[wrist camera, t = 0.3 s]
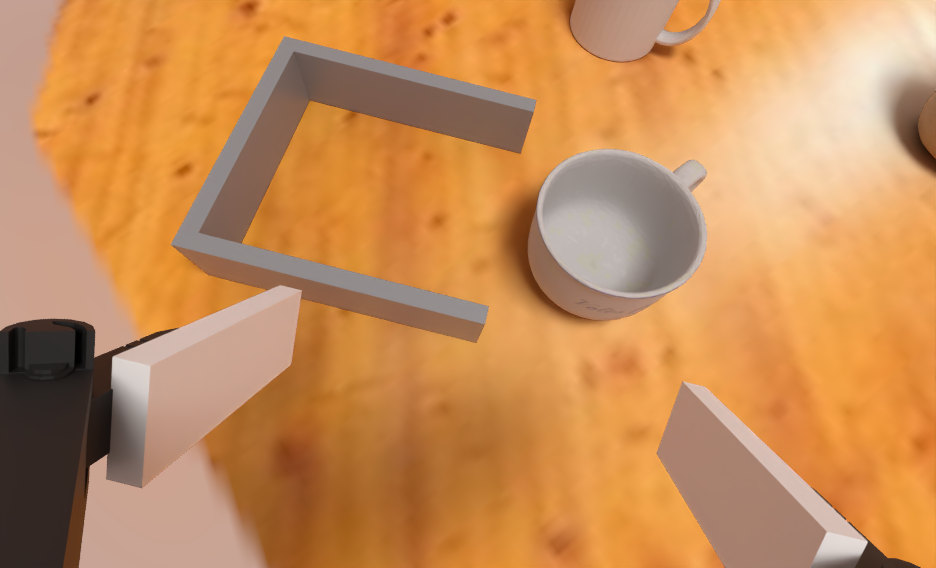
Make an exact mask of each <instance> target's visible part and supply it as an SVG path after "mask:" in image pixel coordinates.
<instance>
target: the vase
mask: <svg viewBox="0 0 936 568" xmlns="http://www.w3.org/2000/svg"><path fill="white" fill-rule="evenodd" d="M918 130H919V136H920V139H921V141H922V143H923V145H924V146H925V148H926V149H927V150H928V151H929V153H930V154H931V155H932V156H933V157H934V158H935V159H936V91H935V92H934V93H933V94H932V95H931V96H930V98H929V99H928V100H927V102H926V103H925V105H924V107H923V109H922V111H921V113H920V116H919V120H918Z"/></svg>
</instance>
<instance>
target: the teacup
mask: <svg viewBox="0 0 936 568" xmlns="http://www.w3.org/2000/svg"><path fill="white" fill-rule="evenodd" d="M706 174H707V172H706V169H705V168H704V166H703V165H701V164H700V163H699V162H697V161H695V160H689V161H687V162H686V163H684V164H683V165H681V166H680V167H679V168H677V169H676V170H675V171H674V172H673V173H672V172H671V171H670V170H669V169H667V168H665V167H664V166H662V165H661V164H659V163H657V162H655V161H653V160H652V159H649V158H647V157H645V156H643V155H640V154H637V153H634V152H629V151H624V150H617V149H599V150H591V151H587V152H583V153H579V154H577V155H574V156H572V157H570V158H568V159H566V160H564V161H563V162H562V163H560V164H559V165H558V166H557V167H556V168H554V170H553V171H552V172H551V173H550V174H549V175H548V176H547V178H546V179H545V181H544V183H543V185H542V187H541V189H540V192H539V195H538V200H537V206H536V211H535V214H534V217H533V221H532V224H531V228H530V232H529V238H528V259H529V264H530V268H531V271H532V273H533V276H534V278H535V280H536V282H537V283H538V285H539V287H540V288H541V289H542V291H543V292H544V293H545V294H546V295H547V297H548V298H549V299H551V300H552V301H553V302H554V303H555V304H557V305H558V306H559V307H561V308H562V309H564V310H566V311H567V312H569V313H572V314H574V315H577V316H579V317H583V318H587V319H592V320H615V319H621V318H625V317H628V316H631V315H633V314H636V313H638V312H640V311H642V310H644V309H645V308H647V307H649V306H650V305H652V304H653V303H655V302H656V301H658V300H659V299H661V298H662V297H663V296H665V295H666V294H667V293H669V292H671V291H673V290H675V289H676V288H678V287H680V286H681V285H682V284H684V283H685V282H686V281H687V280H688V279H689V278H690V277H691V276H692V274H693V273H694V272H695V271H696V270H697V268H698V267H699V265H700V263H701V261H702V259H703V256H704V253H705V250H706V242H707V229H706V223H705V220H704V216H703V213H702V211H701V208H700V206H699V204H698V202H697V201H696V199H695V198H694V196H693V195H692V193H691V192H692V191H693V190H694V189H695V188H696V187H697V186H698V185H699V184H700V183H701V182H702V181H703V180H704V178H705V177H706Z"/></svg>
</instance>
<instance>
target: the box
mask: <svg viewBox="0 0 936 568" xmlns="http://www.w3.org/2000/svg"><path fill="white" fill-rule="evenodd" d="M310 100H311V101H315V102H319V103H323V104H327V105H331V106H335V107H339V108H343V109H347V110H351V111H355V112H359V113H363V114H367V115H371V116H375V117H379V118H383V119H387V120H390V121H394V122H398V123H402V124H406V125H410V126H414V127H418V128H422V129H426V130H430V131H434V132H438V133H442V134H446V135H450V136H454V137H458V138H462V139H466V140H469V141H473V142H477V143H481V144H485V145H489V146H493V147H497V148H501V149H505V150H509V151H513V152H517V153H521V150H522V147H523V144H524V141H525V138H526V135H527V132H528V128H529V125H530V122H531V119H532V116H533V113H534V108H535V104H536V100H534V99H530V98H526V97H522V96H518V95H514V94H510V93H506V92H502V91H498V90H494V89H490V88H487V87H483V86H479V85H475V84H471V83H467V82H463V81H459V80H455V79H451V78H447V77H443V76H439V75H435V74H431V73H427V72H423V71H419V70H415V69H411V68H407V67H404V66H400V65H396V64H392V63H388V62H384V61H380V60H376V59H372V58H368V57H364V56H360V55H356V54H352V53H348V52H344V51H340V50H336V49H332V48H328V47H324V46H320V45H317V44H313V43H309V42H305V41H301V40H297V39H293V38H289V37H285V36H284V38H283V40H282V41H281V43H280V45H279V47H278V49H277V51H276V52H275V54H274V56H273V58H272V60H271V62H270V63H269V65H268V67H267V69H266V71H265V73H264V74H263V76H262V78H261V80H260V82H259V84H258V85H257V87H256V89H255V91H254V93H253V95H252V96H251V98H250V100H249V102H248V104H247V106H246V107H245V109H244V111H243V113H242V115H241V117H240V118H239V120H238V122H237V124H236V126H235V128H234V129H233V131H232V133H231V135H230V137H229V139H228V140H227V142H226V144H225V146H224V148H223V150H222V152H221V153H220V155H219V157H218V159H217V161H216V163H215V164H214V166H213V168H212V170H211V172H210V174H209V175H208V177H207V179H206V181H205V183H204V185H203V186H202V188H201V190H200V192H199V194H198V196H197V197H196V199H195V201H194V203H193V205H192V207H191V208H190V210H189V212H188V214H187V216H186V218H185V219H184V221H183V223H182V225H181V227H180V229H179V230H178V232H177V234H176V236H175V238H174V240H173V241H172V243H171V245H172V246H173V247H174V248H175V249H177V250H178V251H179V252H180V253H182V254H183V255H184V256H185V257H187V258H188V259H189V260H190V261H192V262H193V263H194V264H195V265H197V266H198V267H199V268H200V269H202V270H203V271H204V272H205V273H207V274H208V275H211V276H215V277H219V278H223V279H227V280H231V281H235V282H239V283H242V284H246V285H250V286H254V287H258V288H262V289H266V290H270V289H272V288H275V287H277V286H279V285H281V286H286V287H290V288H294V289H298V290H302V293H301V298H302V299H305V300H309V301H313V302H317V303H321V304H325V305H329V306H333V307H337V308H341V309H345V310H349V311H353V312H357V313H361V314H365V315H369V316H372V317H376V318H380V319H384V320H388V321H392V322H396V323H400V324H404V325H408V326H412V327H416V328H420V329H424V330H428V331H432V332H436V333H439V334H443V335H447V336H451V337H455V338H459V339H463V340H467V341H471V342H475V343H476V342H477V340H478V338H479V336H480V334H481V331H482V329H483V327H484V325H485V321H486V317H487V312H488V308H489V306H485V305H481V304H477V303H473V302H469V301H466V300H462V299H458V298H454V297H450V296H446V295H442V294H438V293H434V292H430V291H426V290H422V289H418V288H414V287H410V286H406V285H402V284H398V283H395V282H391V281H387V280H383V279H379V278H375V277H371V276H367V275H363V274H359V273H355V272H351V271H347V270H343V269H339V268H335V267H331V266H328V265H324V264H320V263H316V262H312V261H308V260H304V259H300V258H296V257H292V256H288V255H284V254H280V253H276V252H272V251H268V250H264V249H261V248H257V247H253V246H249V245H245V244H241V243H242V241H243V238H244V236H245V234H246V232H247V230H248V228H249V226H250V224H251V222H252V220H253V218H254V216H255V213H256V211H257V209H258V207H259V205H260V203H261V201H262V199H263V197H264V195H265V193H266V190H267V188H268V186H269V184H270V182H271V180H272V178H273V176H274V174H275V172H276V170H277V167H278V165H279V163H280V161H281V159H282V157H283V155H284V153H285V151H286V149H287V147H288V145H289V142H290V140H291V138H292V136H293V134H294V132H295V130H296V128H297V126H298V124H299V122H300V119H301V117H302V115H303V113H304V111H305V109H306V107H307V105H308V103H309V101H310Z"/></svg>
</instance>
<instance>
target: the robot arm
mask: <svg viewBox="0 0 936 568" xmlns="http://www.w3.org/2000/svg"><path fill="white" fill-rule="evenodd" d="M301 293H302V290H298V289H294V288H290V287H286V286H281V285H279V286H277V287H275V288H272V289H270V290H268V291H265V292H263V293H261V294H258V295H256V296H254V297H251V298H249V299H247V300H244V301H242V302H240V303H237V304H235V305H233V306H230V307H228V308H225V309H223V310H221V311H218V312H216V313H214V314H211V315H209V316H207V317H204V318H202V319H200V320H197V321H195V322H193V323H190V324H188V325H186V326H183V327H181V328H175V329H170V330H165V331H160V332H156V333H153V334H151V335H149V336H146V337H144V338H141V339H140V341H138V340H136V341H134V342H131V343H129V344H127V345H126V346H125V347H123V346H122V347H119V348H117V349H115V350H112V351H109V352H107V353H105V354H102V355H100V356H97V357H95V358H94V346H95V330H94V327H93V326H92V325H90V324H87V323H85V322H81V321H75V320H69V319H40V320H32V321H26V322H20V323H16V324H13V325H10V326H7V327H5V328H4V329H3V330H1V331H0V568H79V560H80V551H81V543H82V535H83V526H84V517H85V510H86V501H87V493H88V484H89V468H90V465H92V464H93V463H95V462H96V461H98V460H99V459H101V458H102V457H104V456H105V455H107V454H108V456H107V475H106V476H107V477H106V479H108V480H112V481H116V482H120V483H124V484H128V485H131V486H135V487H139V488H143V487H144V486H145V485H146V484H147V483H149V482H150V481H151V480H152V479H153V478H155V477H156V476H157V475H158V474H159V473H161V472H162V471H163V470H164V469H165V468H167V467H168V466H169V465H170V464H171V463H173V462H174V461H175V460H176V459H178V458H179V457H180V456H181V455H182V454H184V453H185V452H186V451H187V450H188V449H190V448H191V447H192V446H193V445H195V444H196V443H197V442H198V441H199V440H201V439H202V438H203V437H204V436H205V435H207V434H208V433H209V432H210V431H211V430H213V429H214V428H215V427H216V426H217V425H219V424H220V423H221V422H222V421H223V420H225V419H226V418H227V417H228V416H230V415H231V414H232V413H233V412H234V411H236V410H237V409H238V408H239V407H240V406H242V405H243V404H244V403H245V402H246V401H248V400H249V399H250V398H251V397H252V396H254V395H255V394H256V393H257V392H258V391H260V390H261V389H262V388H263V387H265V386H266V385H267V384H268V383H269V382H271V381H272V380H273V379H274V378H275V377H277V376H278V375H279V374H280V373H281V372H283V371H284V370H285V369H286V368H287V367H289V366H290V365H291V361H292V355H293V348H294V341H295V334H296V327H297V321H298V314H299V307H300V300H301ZM657 455H658V457H659V458H660V460H661V462H662V463H663V465H664V467H665V468H666V470H667V472H668V473H669V475H670V477H671V478H672V480H673V482H674V483H675V485H676V487H677V488H678V490H679V492H680V493H681V495H682V497H683V498H684V500H685V502H686V503H687V505H688V507H689V508H690V510H691V512H692V513H693V515H694V517H695V518H696V520H697V522H698V523H699V525H700V527H701V528H702V530H703V532H704V533H705V535H706V537H707V538H708V540H709V542H710V543H711V545H712V547H713V548H714V550H715V552H716V553H717V555H718V557H719V558H720V560H721V562H722V563H723V565H724V567H725V568H920V567H918V566H916V565H914V564H912V563H909V562H906V561H903V560H900V559H896V558H887V557H886V556H885V555H884V554H883V553H882V552H881V551H879V550H878V549H877V548H876V547H875V546H874V545H873V544H872V543H871V542H870V541H869V540H868V539H867V538H866V537H865V536H864V535H863V534H861V533H860V532H859V531H858V530H857V529H856V528H855V527H854V526H853V525H852V524H851V523H850V522H847V521H846V518H845V517H843V516H842V515H841V514H840V513H839V512H838V511H837V510H836V509H833V508H832V505H831V504H830V503H829V502H828V501H827V500H826V499H824V498H823V497H822V496H821V495H820V494H819V493H818V492H817V491H816V490H814V489H813V488H812V487H810V486H809V485H808V484H807V483H806V482H805V481H804V480H803V479H802V478H801V477H799V476H798V475H797V474H796V473H795V472H794V471H793V470H792V469H791V468H790V467H789V466H788V465H787V464H786V463H785V462H784V461H783V460H782V459H781V458H779V457H778V456H777V455H776V454H775V453H774V452H773V451H772V450H771V449H770V448H769V447H768V446H767V445H766V444H765V443H764V442H763V441H762V440H761V439H759V438H758V437H757V436H756V435H755V434H754V433H753V432H752V431H751V430H750V429H749V428H748V427H747V426H746V425H745V424H744V423H743V422H742V421H741V420H739V419H738V418H737V417H736V416H735V415H734V414H733V413H732V412H731V411H730V410H729V409H728V408H727V407H726V406H725V405H724V404H723V403H722V402H721V401H720V400H718V399H717V398H716V397H715V396H714V395H713V394H712V393H711V392H710V391H709V390H708V389H707V388H706V387H704V386H699V385H695V384H691V383H687V382H683V381H682V384H681V387H680V390H679V393H678V395H677V398H676V401H675V404H674V406H673V409H672V412H671V415H670V418H669V420H668V423H667V426H666V429H665V431H664V434H663V437H662V440H661V443H660V445H659V448H658V451H657Z"/></svg>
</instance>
